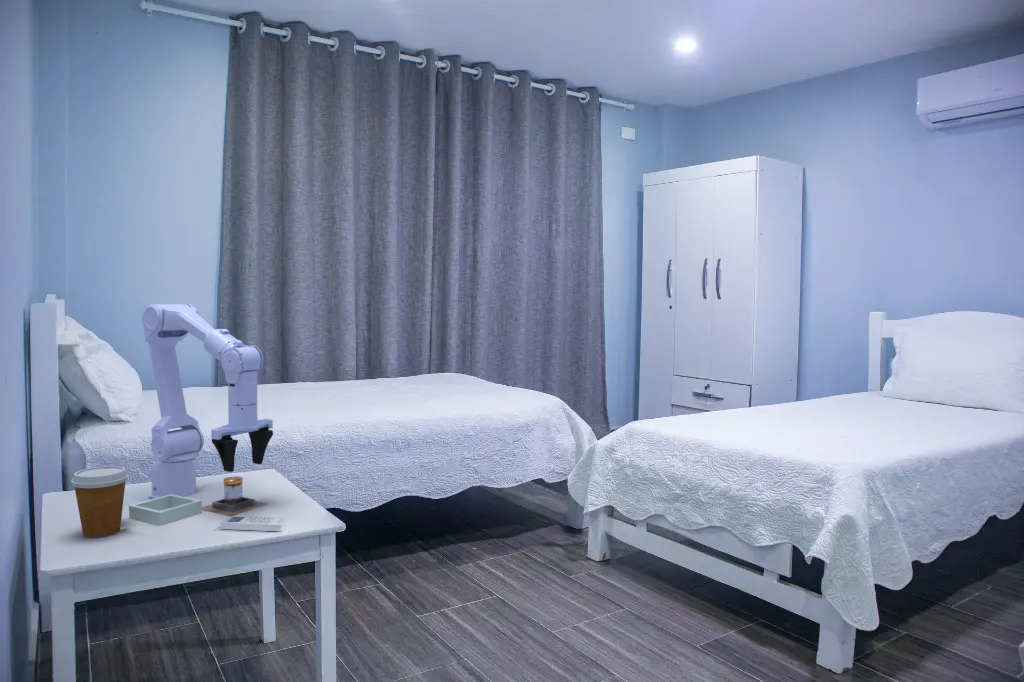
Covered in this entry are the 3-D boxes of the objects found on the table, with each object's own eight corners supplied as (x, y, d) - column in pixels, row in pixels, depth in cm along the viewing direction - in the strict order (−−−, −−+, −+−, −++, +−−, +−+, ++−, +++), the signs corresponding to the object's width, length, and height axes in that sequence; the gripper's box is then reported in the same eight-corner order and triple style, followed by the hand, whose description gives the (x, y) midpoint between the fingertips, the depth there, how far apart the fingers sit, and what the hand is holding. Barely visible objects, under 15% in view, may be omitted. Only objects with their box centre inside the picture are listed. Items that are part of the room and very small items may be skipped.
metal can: (220, 507, 151) (219, 479, 151) (234, 502, 155) (234, 475, 154) (232, 509, 149) (232, 481, 149) (246, 505, 153) (246, 477, 152)
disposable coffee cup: (71, 543, 131) (69, 480, 131) (74, 528, 140) (72, 468, 139) (129, 535, 136) (128, 474, 135) (129, 521, 144) (127, 463, 143)
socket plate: (197, 513, 150) (197, 503, 150) (236, 501, 159) (236, 491, 159) (230, 520, 145) (230, 510, 145) (268, 508, 154) (268, 498, 154)
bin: (129, 522, 144) (128, 505, 143) (171, 510, 152) (171, 494, 152) (160, 530, 139) (159, 512, 139) (202, 517, 148) (201, 500, 147)
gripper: (227, 410, 141) (228, 477, 142) (282, 400, 154) (283, 462, 155) (203, 407, 144) (204, 472, 145) (259, 398, 157) (259, 458, 158)
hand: (243, 467), depth 150 cm, fingers open, 7 cm apart
